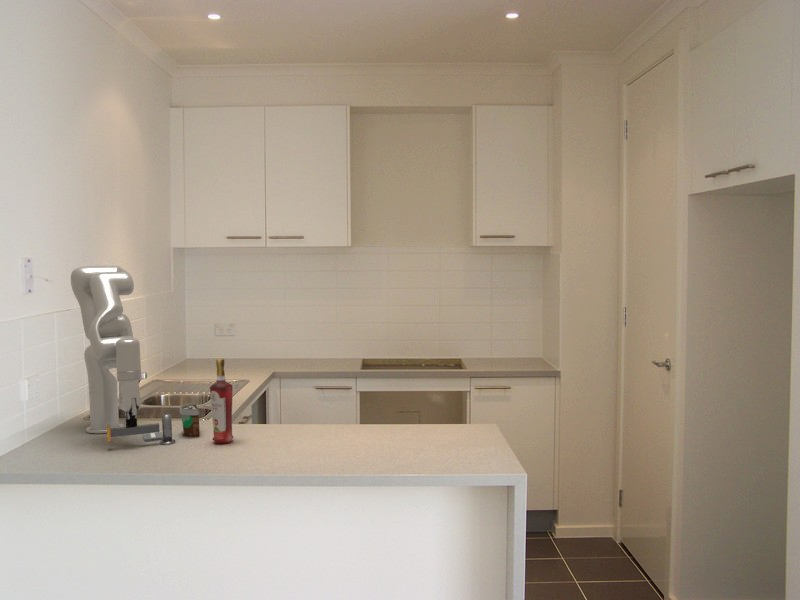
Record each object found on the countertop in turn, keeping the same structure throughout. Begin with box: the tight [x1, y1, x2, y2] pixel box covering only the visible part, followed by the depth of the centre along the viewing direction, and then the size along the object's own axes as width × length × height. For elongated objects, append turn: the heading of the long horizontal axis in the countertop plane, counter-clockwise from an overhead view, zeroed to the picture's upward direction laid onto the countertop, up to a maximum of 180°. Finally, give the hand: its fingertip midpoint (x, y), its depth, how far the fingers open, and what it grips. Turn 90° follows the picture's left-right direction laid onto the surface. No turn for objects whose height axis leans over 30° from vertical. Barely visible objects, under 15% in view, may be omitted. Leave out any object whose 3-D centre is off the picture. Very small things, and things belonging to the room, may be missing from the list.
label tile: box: [142, 431, 163, 443], centre depth 240 cm, size 8×6×1 cm
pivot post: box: [159, 413, 176, 446], centre depth 233 cm, size 5×5×10 cm
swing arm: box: [106, 422, 161, 442], centre depth 229 cm, size 16×4×4 cm, turn 114°
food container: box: [179, 402, 201, 438], centre depth 244 cm, size 12×6×10 cm, turn 21°
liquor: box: [209, 358, 235, 445], centre depth 232 cm, size 7×7×28 cm
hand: (131, 430), depth 232 cm, fingers closed
